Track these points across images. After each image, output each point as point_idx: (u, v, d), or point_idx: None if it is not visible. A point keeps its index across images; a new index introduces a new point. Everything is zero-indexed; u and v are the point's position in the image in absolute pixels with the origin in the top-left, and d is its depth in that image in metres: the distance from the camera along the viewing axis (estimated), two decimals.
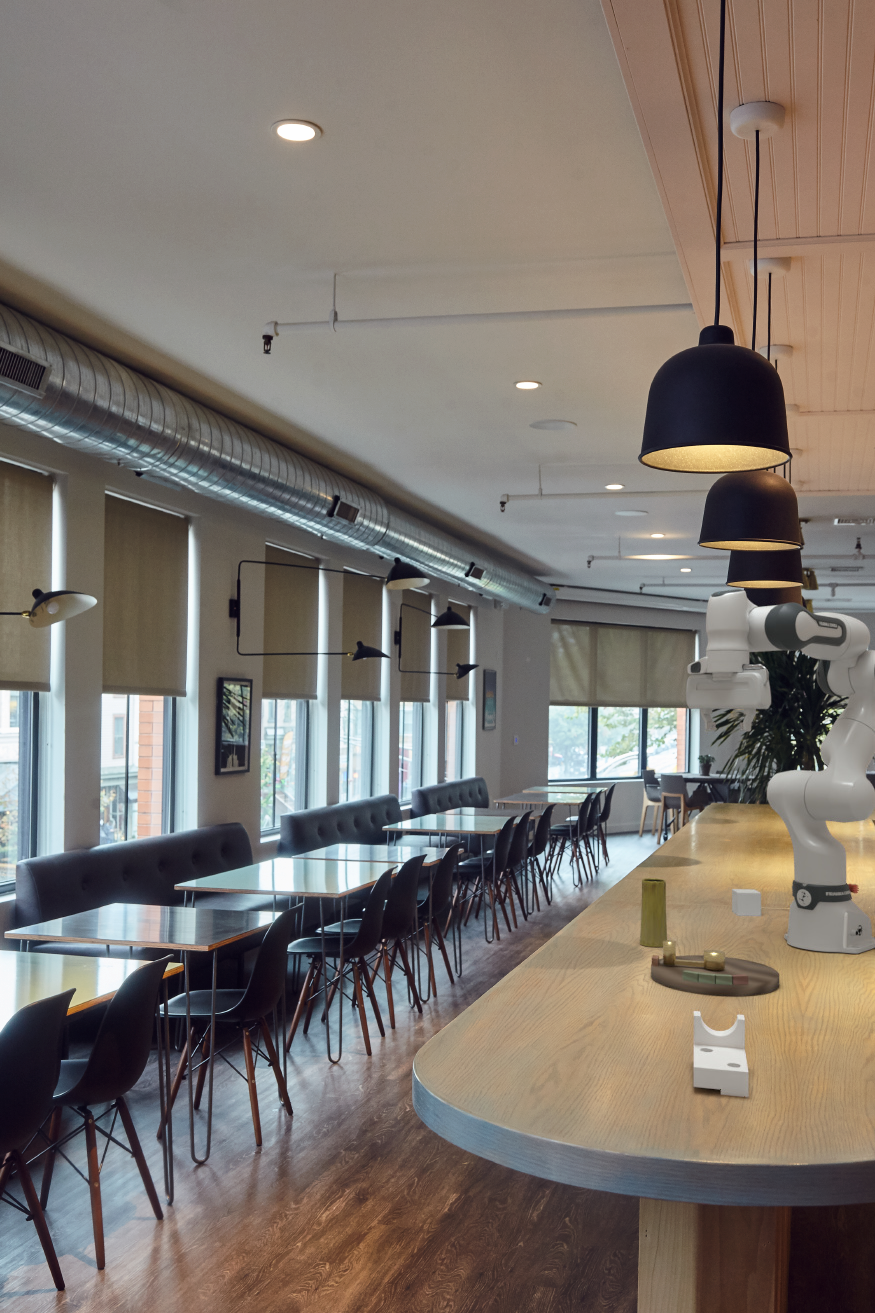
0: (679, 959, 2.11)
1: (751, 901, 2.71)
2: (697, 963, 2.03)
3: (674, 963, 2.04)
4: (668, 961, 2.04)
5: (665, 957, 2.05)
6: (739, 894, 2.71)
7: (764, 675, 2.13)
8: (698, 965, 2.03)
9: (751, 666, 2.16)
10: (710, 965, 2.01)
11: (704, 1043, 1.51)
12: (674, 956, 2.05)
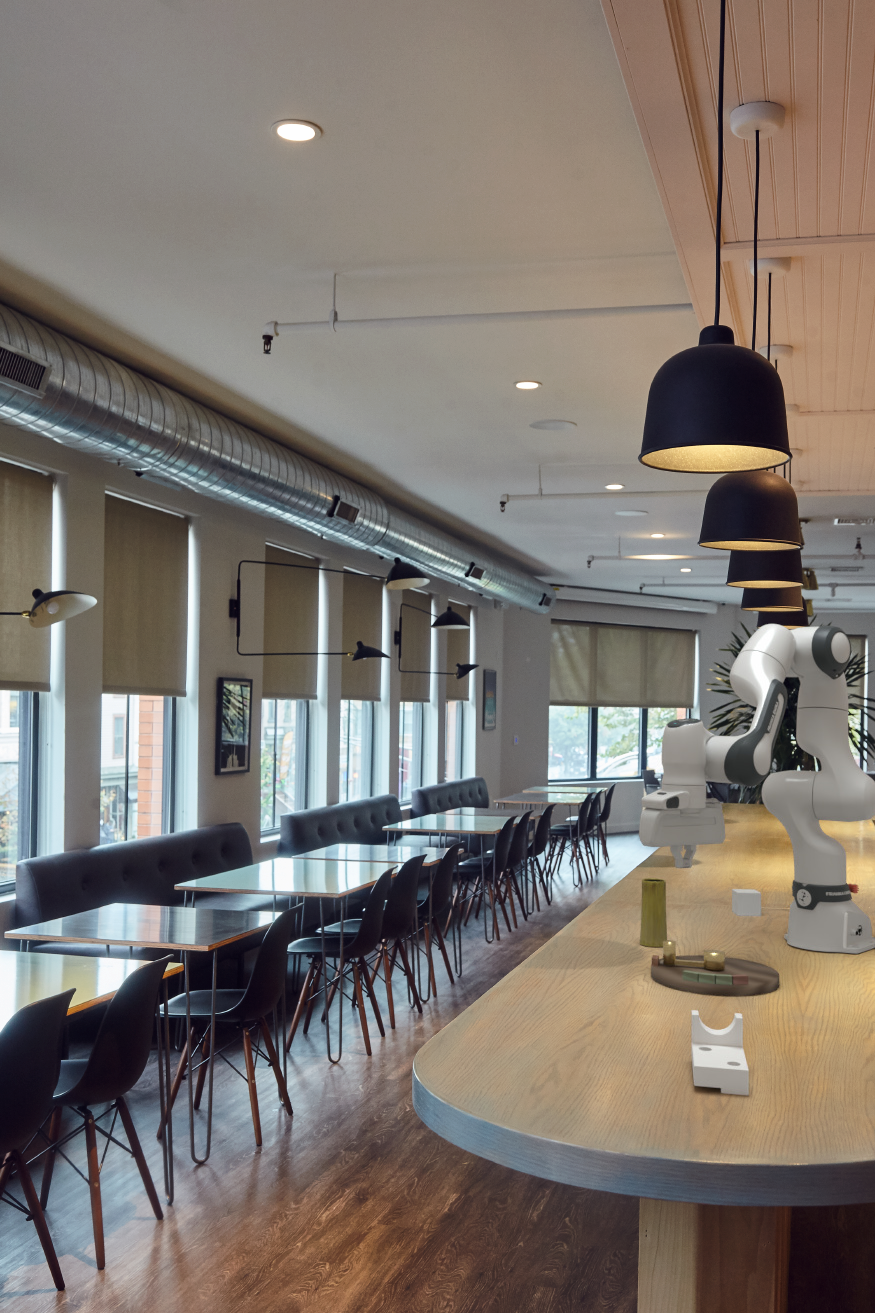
0: (679, 959, 2.11)
1: (751, 902, 2.71)
2: (697, 963, 2.03)
3: (674, 963, 2.04)
4: (668, 961, 2.04)
5: (665, 957, 2.05)
6: (739, 894, 2.71)
7: (720, 809, 2.17)
8: (698, 965, 2.03)
9: (709, 800, 2.15)
10: (710, 965, 2.01)
11: (702, 1042, 1.52)
12: (674, 956, 2.05)
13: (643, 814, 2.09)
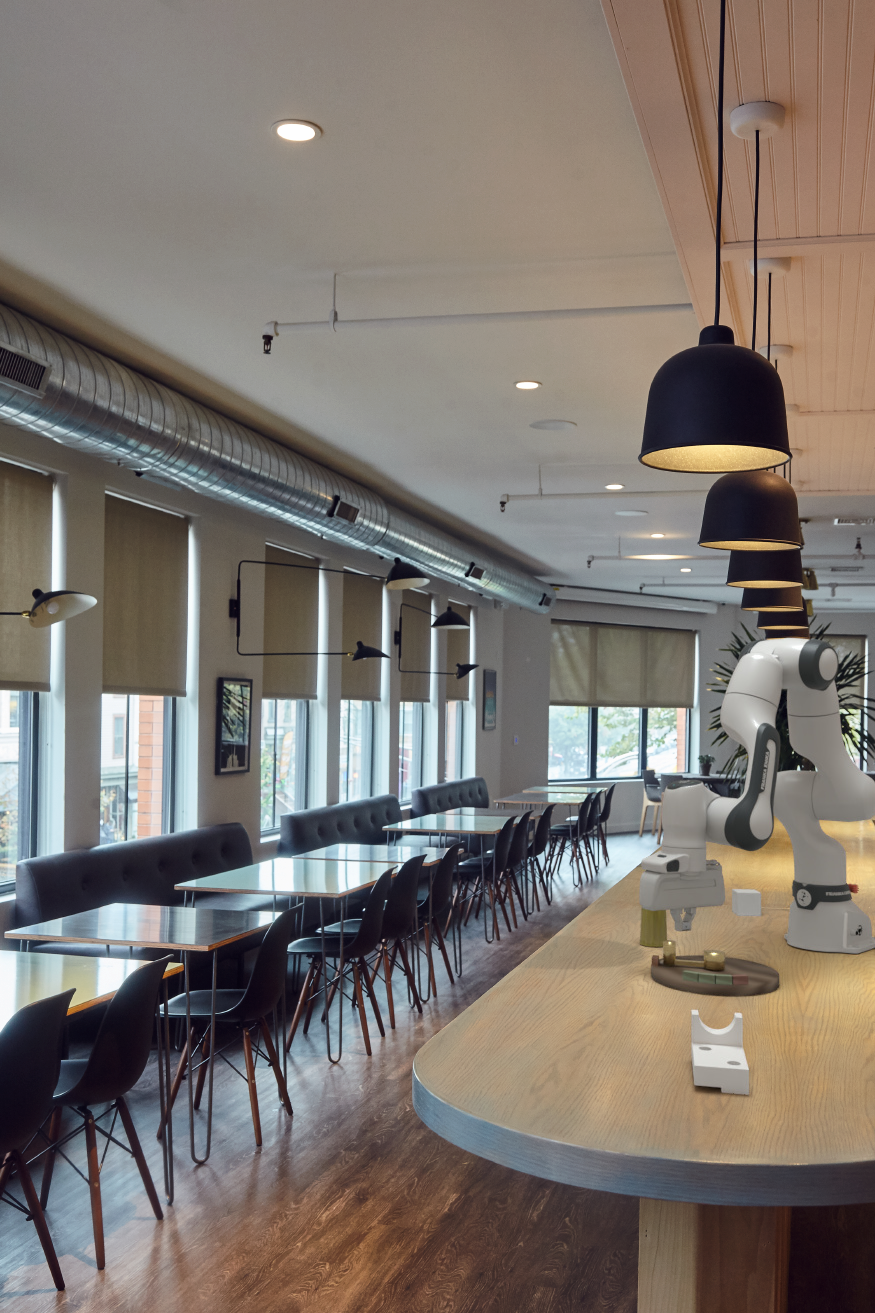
0: (679, 959, 2.11)
1: (751, 901, 2.71)
2: (697, 963, 2.03)
3: (674, 963, 2.04)
4: (668, 961, 2.04)
5: (665, 957, 2.05)
6: (739, 894, 2.71)
7: (720, 871, 2.16)
8: (698, 965, 2.03)
9: (709, 862, 2.14)
10: (710, 965, 2.01)
11: (702, 1041, 1.52)
12: (674, 956, 2.05)
13: (643, 877, 2.08)
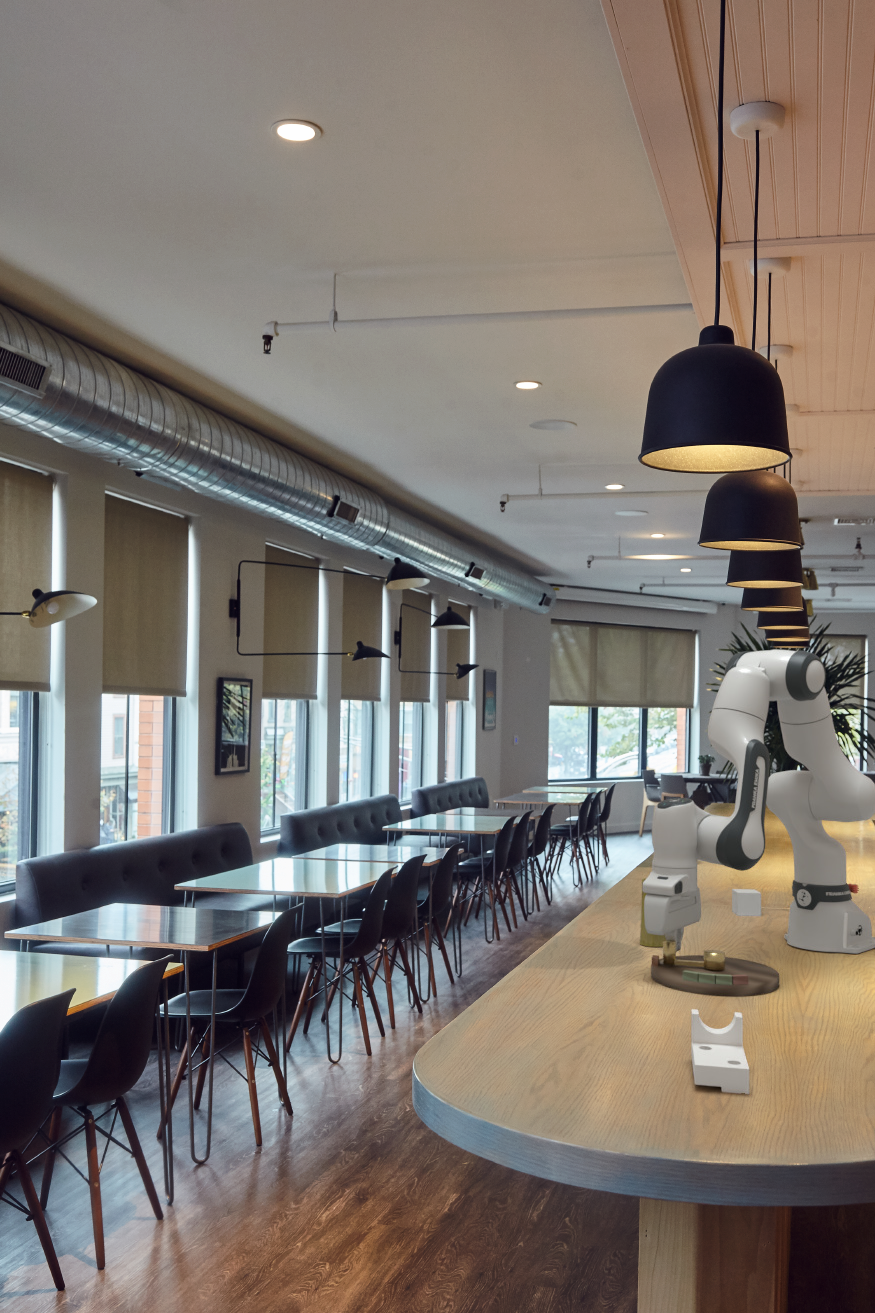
0: (679, 959, 2.11)
1: (751, 902, 2.71)
2: (697, 963, 2.03)
3: (674, 963, 2.04)
4: (668, 961, 2.04)
5: (665, 957, 2.05)
6: (739, 894, 2.71)
7: None
8: (698, 965, 2.03)
9: None
10: (710, 965, 2.01)
11: (702, 1041, 1.52)
12: (674, 956, 2.05)
13: (648, 901, 2.02)
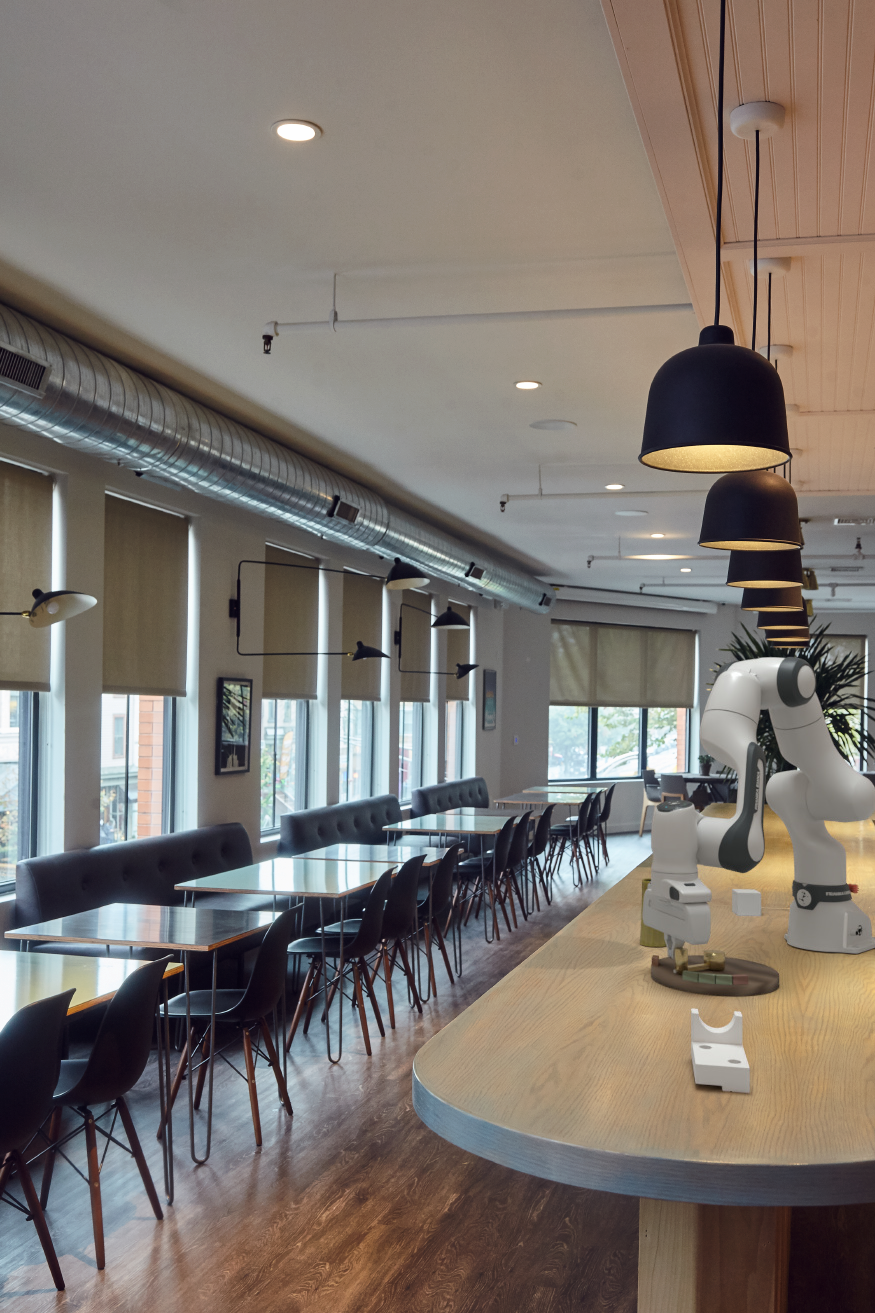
0: None
1: (751, 901, 2.71)
2: (704, 965, 2.01)
3: (687, 970, 1.99)
4: (685, 969, 1.98)
5: (682, 965, 1.98)
6: (739, 894, 2.71)
7: None
8: (705, 968, 2.01)
9: None
10: (718, 965, 2.01)
11: (702, 1040, 1.53)
12: None
13: (692, 911, 1.93)
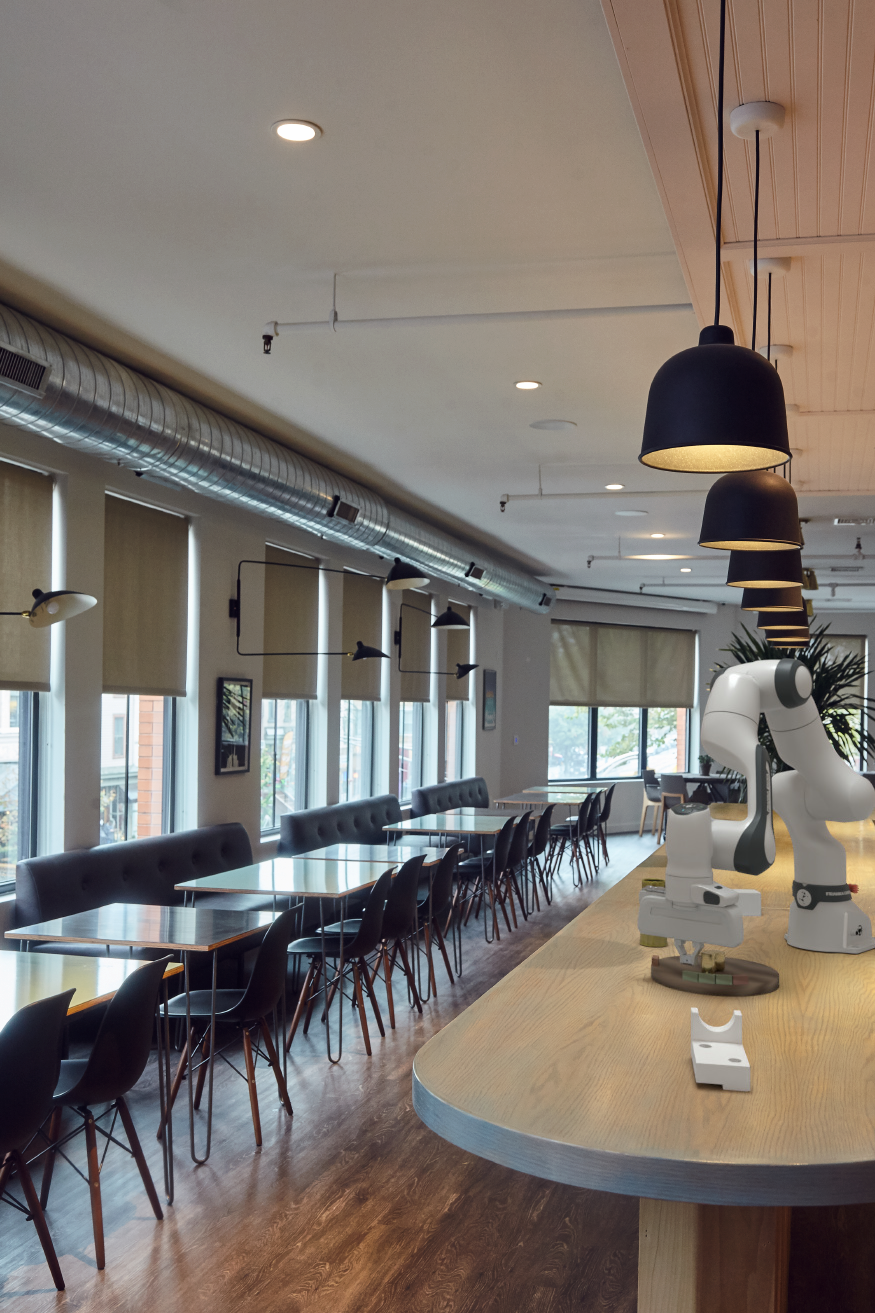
0: (679, 959, 2.11)
1: (751, 901, 2.71)
2: (715, 967, 2.00)
3: None
4: None
5: (712, 970, 1.94)
6: (739, 894, 2.71)
7: None
8: (715, 969, 2.00)
9: None
10: (723, 965, 2.02)
11: (702, 1039, 1.53)
12: None
13: (733, 913, 1.91)
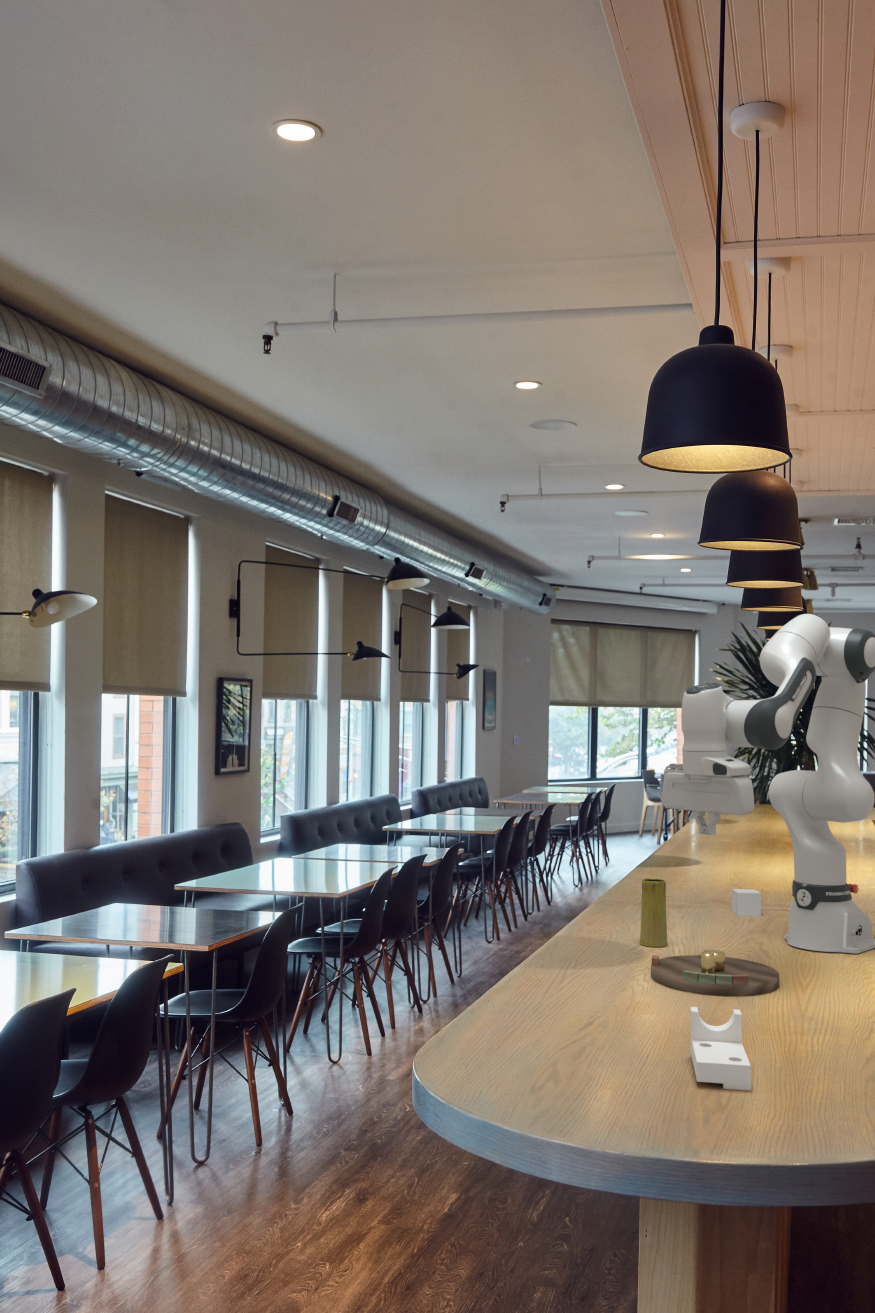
0: (679, 959, 2.11)
1: (752, 901, 2.71)
2: (715, 967, 2.00)
3: None
4: None
5: (712, 970, 1.94)
6: (739, 894, 2.71)
7: None
8: (715, 969, 2.00)
9: None
10: (723, 965, 2.02)
11: (702, 1038, 1.54)
12: None
13: (740, 783, 2.03)
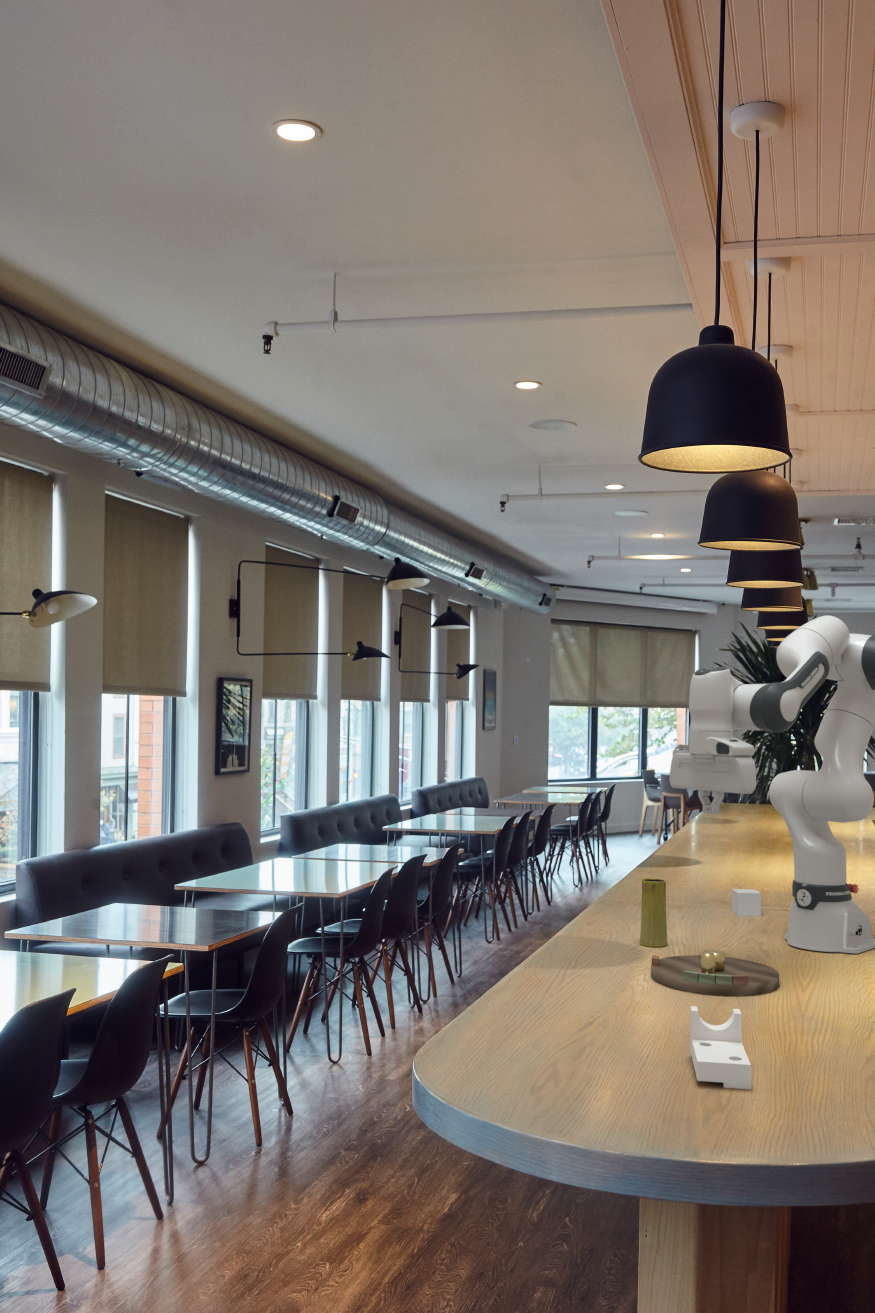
0: (679, 959, 2.11)
1: (751, 901, 2.71)
2: (715, 967, 2.00)
3: None
4: None
5: (712, 970, 1.94)
6: (739, 894, 2.71)
7: None
8: (715, 969, 2.00)
9: None
10: (723, 965, 2.02)
11: (702, 1037, 1.54)
12: None
13: (742, 762, 2.07)
